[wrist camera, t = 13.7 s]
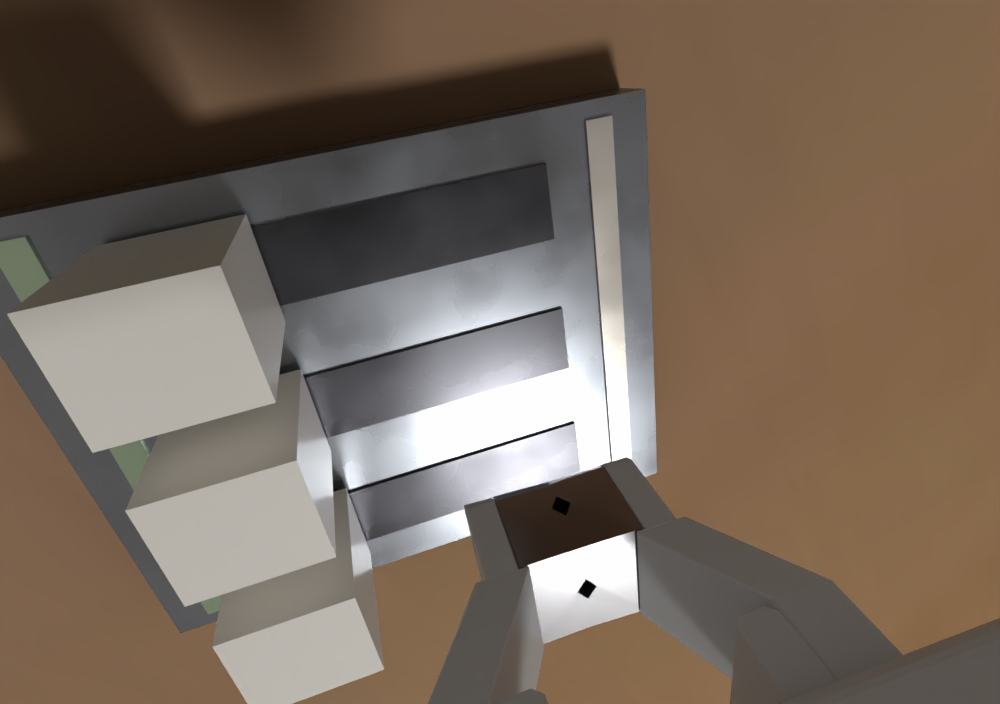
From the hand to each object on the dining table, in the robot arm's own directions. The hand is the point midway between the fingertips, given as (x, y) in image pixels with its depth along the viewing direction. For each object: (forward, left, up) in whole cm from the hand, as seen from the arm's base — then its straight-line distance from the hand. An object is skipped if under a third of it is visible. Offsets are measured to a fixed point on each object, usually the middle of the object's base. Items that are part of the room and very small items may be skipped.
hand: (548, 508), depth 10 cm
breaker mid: (+6, +2, -8) cm, 10 cm away
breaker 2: (+6, +6, -8) cm, 12 cm away
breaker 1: (+6, -3, -8) cm, 11 cm away
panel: (+2, +2, -10) cm, 10 cm away
